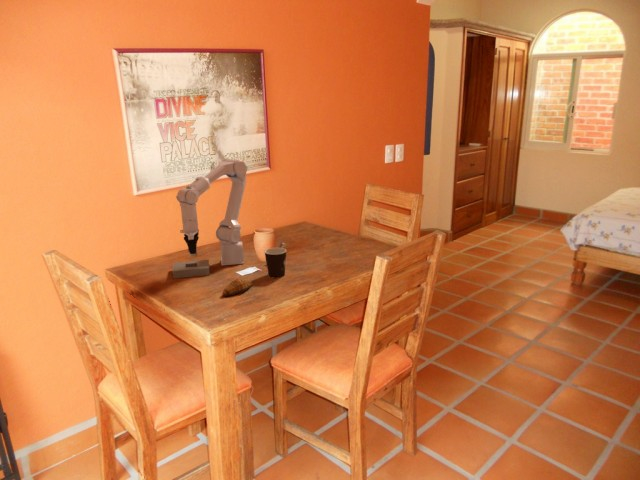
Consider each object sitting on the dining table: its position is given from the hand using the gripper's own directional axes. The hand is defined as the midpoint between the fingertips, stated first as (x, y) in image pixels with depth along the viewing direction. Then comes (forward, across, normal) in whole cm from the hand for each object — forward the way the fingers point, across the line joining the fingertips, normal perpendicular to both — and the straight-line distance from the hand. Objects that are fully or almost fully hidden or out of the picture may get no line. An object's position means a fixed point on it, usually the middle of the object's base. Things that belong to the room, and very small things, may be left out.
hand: (193, 252), depth 191 cm
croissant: (+10, +23, +15) cm, 29 cm away
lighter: (+10, -6, +35) cm, 36 cm away
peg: (+2, 0, 0) cm, 2 cm away
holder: (+9, -3, -1) cm, 10 cm away
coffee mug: (+10, +9, +32) cm, 35 cm away
